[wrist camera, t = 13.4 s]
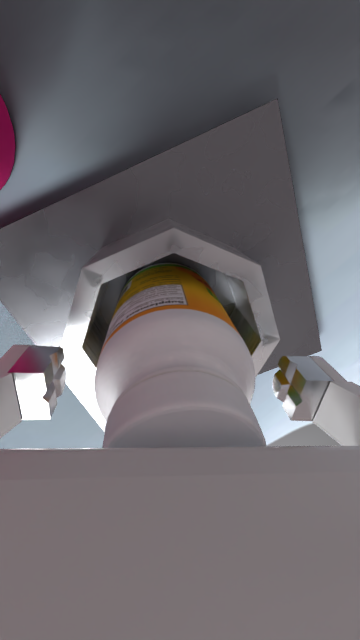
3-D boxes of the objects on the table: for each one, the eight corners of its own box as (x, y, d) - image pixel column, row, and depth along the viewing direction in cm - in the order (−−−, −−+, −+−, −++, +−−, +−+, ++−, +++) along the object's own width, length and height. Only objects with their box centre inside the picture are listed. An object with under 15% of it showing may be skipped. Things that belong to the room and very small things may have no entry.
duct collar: (106, 421, 19) (92, 488, 15) (-29, 244, 13) (-121, 270, 9) (313, 342, 18) (366, 392, 14) (267, 105, 12) (337, 52, 7)
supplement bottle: (222, 332, 16) (307, 501, 7) (139, 358, 16) (123, 552, 7) (199, 246, 13) (285, 343, 5) (102, 279, 14) (14, 426, 5)
